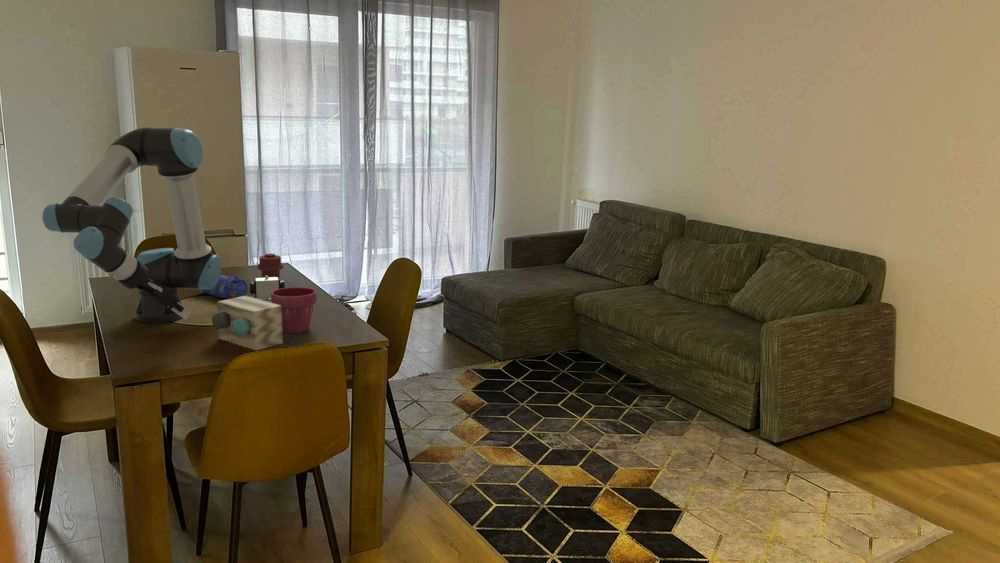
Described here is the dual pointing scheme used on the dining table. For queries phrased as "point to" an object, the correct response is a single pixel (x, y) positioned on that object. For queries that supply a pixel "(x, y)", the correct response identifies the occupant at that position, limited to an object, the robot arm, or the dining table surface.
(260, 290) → the pneumatic valve
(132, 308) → the dining table surface
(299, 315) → the plant pot
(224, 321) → the knob charcoal
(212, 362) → the dining table surface
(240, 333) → the knob teal
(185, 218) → the robot arm
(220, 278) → the pencil case
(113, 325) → the dining table surface
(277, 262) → the mechanical component
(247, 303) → the block
